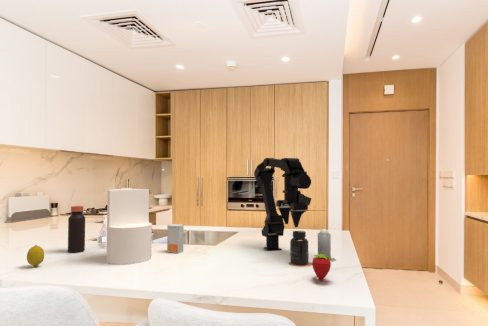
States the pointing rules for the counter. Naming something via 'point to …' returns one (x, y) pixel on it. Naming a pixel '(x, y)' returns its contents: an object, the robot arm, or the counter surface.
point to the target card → (309, 263)
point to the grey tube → (324, 243)
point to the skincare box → (175, 238)
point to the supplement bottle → (299, 248)
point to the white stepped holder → (128, 226)
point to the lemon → (35, 255)
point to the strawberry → (321, 266)
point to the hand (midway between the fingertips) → (291, 225)
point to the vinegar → (76, 230)
